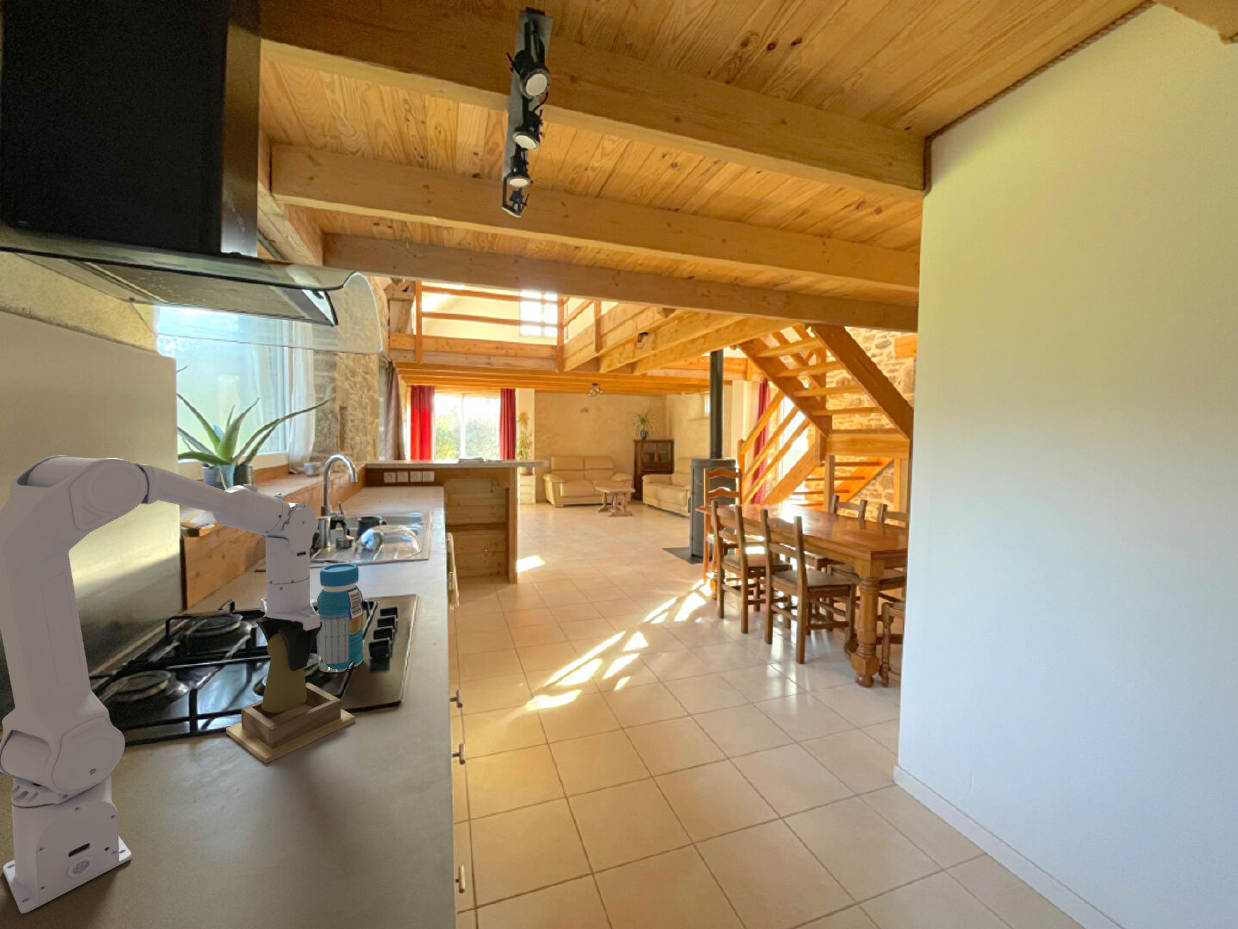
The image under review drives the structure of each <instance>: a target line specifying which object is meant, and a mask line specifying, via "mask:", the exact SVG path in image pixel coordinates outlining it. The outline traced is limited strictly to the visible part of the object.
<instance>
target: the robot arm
mask: <svg viewBox="0 0 1238 929" xmlns="http://www.w3.org/2000/svg"><path fill="white" fill-rule="evenodd" d="M9 490H10V491H9V492H10V493H9V496H8V498H7V499H6V501H5V503H4V505H3V507H2V508H1V510H0V633H1V638H2V643H3V644H2V645H3V648H4V654H5V660H6V665H7V671H8V674H9V675H8V676H9V681H10V685H11V691H12V696H13V702H14V706H15V707H14V709H13V710H12V711H10V712H9V713H8V714H7V715H6V716H4V717H3V719H2V721H1V724H2V732H3V734H2V739H1V741H0V772H1V773H3V774H4V775H6V776H10V777H12V782H13V783H12V789H11V794H10V801H11V817H12V818H11V820H12V821H11V822H12V837H13V840H12V841H13V842H12V843H13V856H14V857H13V858H14V859H13V860H10V861H8V862H7V863H5V864H4V865H2V872H3V874H4V877H5V879H6V881H7V884H8V887H9V888H10V891H11V894H12V896H13V898H14V900H15V903H16V905H17V907H18V910H19V913H20V914H26V913H29V912H31V911H33V910H35V909H36V908H39V907H41V906H43V905H44V904H47V903H48V902H51V901H53V900H55V899H56V898H58V897H60V896H62V895H64V894H66V893H68V892H70V891H72V890H73V889H75V888H78V887H79V886H81V885H83V884H85V883H88V882H89V881H92V880H93V879H95V878H97V877H99V876H101V875H102V874H104V873H107V872H108V871H112V870H113V869H114V868H117V867H119V866H120V865H122V864H125V863H126V862H127V861H130V860H131V858H132V852H131V850H130V849H129V848H128V846H127V845H126V843H125V842H124V840H123V839H122V837H120V835H119V816H118V814H119V813H118V812H119V811H118V809H117V807H116V805H115V804H114V802H113V795H112V793H113V792H112V772H113V770H115V768H116V767H117V766H118V764H119V763H120V761H121V758H122V757H123V754H124V752H125V747H126V746H125V745H126V740H125V736H124V734H123V733H122V731H121V730H119V729H118V728H117V727H115V726H114V725H113V723H112V721H111V718H110V713H109V710H108V708H107V707H106V706H105V705H104V704H103V703H102V701H101V700H100V699H99V697H97V696H96V694H95V693H94V692H93V691H92V688H91V682H90V675H89V669H88V664H87V663H88V662H87V657H86V651H85V645H84V640H83V633H82V628H81V620H80V616H79V608H78V604H77V603H78V602H77V597H76V596H77V595H76V591H75V590H76V589H75V585H74V578H73V573H72V572H73V571H72V567H71V562H70V561H71V560H70V554H69V553H70V550H72V549H73V548H74V547H75V546H76V545H77V544H79V542H81V541H82V540H83V539H84V538H85V537H87V535H89V534H90V533H92V532H94V531H96V530H98V529H100V528H101V527H104V526H105V525H108V524H109V523H111V522H113V521H115V520H117V519H119V518H121V517H124V516H125V515H127V514H128V513H131V511H133V510H135V509H136V508H137V507H138V506H140V504H141V505H152V504H154V503H156V502H158V501H161V502H165V503H168V504H169V503H170V504H173V505H179V506H182V507H185V508H186V507H187V508H191V509H196V510H199V511H205V512H209V513H210V512H211V514H212V516H213V518H214V520H215V522H216V523H217V524H219V525H221V526H225V527H229V528H233V529H237V530H240V531H246V532H248V533H254V534H256V535H257V534H258V536H260V537H261V538H263V539H265V580H266V581H265V582H266V588H265V589H266V597H263V598H261V599H260V600H259V602H260V603H259V604H260V605H259V606H260V607H259V608H260V609H259V610H260V612H263V613H264V615H265V616H261V617H258V618H256V620H255V623H256V625H257V626H258V627H259V628H260V631H261V632H262V633H263V635H264V638H265V640H266V643H267V644H268V641H269V640H270V639H271V637H272V636H274V635H276V634H278V633H279V634H280V635H281V637H282V639H283V641H284V643H285V646H286V650H287V656H288V663H289V667H290V669H291V671H296V670H299V669H301V668H304V669H305V668H307V666H308V664H309V659H310V656H311V652H312V647H313V646H314V642H315V639H317V634H318V633H319V631H320V629H321V628H322V622H321V621H320V614H318V613H317V611H316V610H315V608H314V607H317V606H316V605H318V601H317V599H313V598H311V572H310V571H311V567H310V566H311V565H310V564H311V560H310V559H311V558H310V556H311V555H310V550H311V548H312V546H313V538H314V535H315V533H316V532H317V530H318V528H319V523H320V519H319V518H317V516H316V513H315V512H314V511H313V509H312V508H311V507H310V506H309V505H307V504H305V503H297V502H288V501H286V499H287V498H286V496H283V495H278V494H277V495H274V496H272V495H269V494H266V493H264V492H261V491H258V490H259V486H257V485H254V484H247V483H246V484H245V483H244V484H242V485H233V486H230V487H228V488H225V489H221V488H219V487H215V486H213V485H210V484H206V483H205V482H202V481H198V480H197V479H193V478H190V477H187V476H184V475H181V474H179V473H176V472H173V471H171V470H167V469H165V468H162V467H158V466H154V465H150V464H145V463H137V462H136V463H135V462H131V461H129V460H127V459H123V458H118V457H117V458H116V457H114V458H112V457H110V458H107V457H105V458H95V457H94V458H91V457H89V458H88V457H76V456H72V455H60V454H59V455H52V456H48V457H44V458H41V459H39V460H37V461H36V462H34V463H32V464H31V465H29V466H28V467H27V468H25V469H23V470H22V471H21V472H20V473H18V474H16V475H15V476H14V477H12V478H11V479H10V480H9Z"/></svg>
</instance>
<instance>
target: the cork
mask: <svg viewBox="0 0 1238 929" xmlns="http://www.w3.org/2000/svg"><path fill="white" fill-rule="evenodd" d="M266 651H267V654H268V655H269V657H270V661H269V666H268V670H267V671H268V672H267V676H266V681H265V686H264V692H263V697H262V700H263V701H262V709H263V710H264V711H268V712H283V711H288V710H291V709H294V708H297V707H299V706H301V705H302V704H304V703H305V702H306V700H307V692H306V683H307V682H306V676H305V675H306V674H305V667H304V668H301V669H299V670H296V671H291V669H290V667H289V663H288V656H287V650H286V646H285V643H284V641H283V639H282V637H281V635H280V634H279V633H278V634H276V635H274V636H272V637H271V639H270V640H269V641H268V644H267V646H266Z"/></svg>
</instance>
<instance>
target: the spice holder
mask: <svg viewBox="0 0 1238 929" xmlns="http://www.w3.org/2000/svg"><path fill="white" fill-rule="evenodd" d="M305 683H306V692H307V700H306V702H305V703H304V704H302V705H301V706H299V707H297V708H294V709H291V710H288V711H283V712H268V711H264V710H263V709H262V701H263V699H261V700H259V701H256V702H254V703H251V704H249V705H245V706H243V707H241V708H240V713H241V714H240V716H241V719H240V722H238V723H235V724H233V725H230V726H228V727H226V728H225V734H227V735H228V736H229V737H230V738H232V739H233V740H234V741H236V742H237V743H238V744H240V745H241V746H242V747H243V748H245V749H246V750H247V751H249V752H250V753H251V754H253V756H255V757H256V758H258V759H259V760H260V761H261V762H263V763H264V764H268V763H271V762H272V761H275V760H277V759H279V758H281V757H283V756H285V755H288V754H289V753H292V752H294V751H295V750H298V749H300V748H301V747H304V746H306V745H309V744H310V743H312V742H314V741H317V740H319V739H320V738H323V737H325V736H327V735H329V734H331V733H333V732H336V731H338V730H340V729H342V728H344V727H346V726H348V725H350V724H352V723H355V722H356V716H355V715H353V714H351V713H350V712H348V711H346V710H344V709H343V708H342V707H341V706H342V705H341V704H342V703H341V702H342V701H341V699H340V698H338V697H337V696H334V695H332V694H331V693H329V692H327V691H326V690H323V689H322V688H320V687H318V686H317V685H314V684H312V683H311V682H305Z"/></svg>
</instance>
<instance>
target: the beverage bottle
mask: <svg viewBox="0 0 1238 929" xmlns="http://www.w3.org/2000/svg"><path fill="white" fill-rule="evenodd" d="M359 571H360V570H359V566H358V565H357V564H355V563H349V562H348V563H336V564H335V563H334V564H331V565H326V566H323V567H322V568H320V572H319V580H320V581H319V584H320V586H321V587H322V589H321V591H320V592H319V594H318V596H317V599H316V600H317V601H318V605H316V606H315V607H317V611H316V613H318V614H320V621H321V622H322V628H321V629H320V631H319V633H318V634H317V636H316V652H317V653H316V656H317V655H319V656H321V658H322V660H323V662H324V663H325V664H326V665H327V666H328V667H330V668H332V669H337V670H338V671H339V672H338V673H343V672H346V671H345V670H346V669H347V667H348V666H349V665H350V664H351V663H352V662H355V666H356V667H355V668H357V667H358V666H359V665H361V664H362V662H363V660H364V651H363V646H364V644H363V642H364V639H363V637H364V636H363V629H364V628H363V626H364V625H363V624H364V623H363V622H364V620H363V619H364V618H363V616H364V611H365V610H364V607H363V605H362V602H363V601H364V600H363V598H364V596H363V594H362V592H361V590H360V588H359V587H358V586H357V583H358V582H359V578H360V577H359V576H360V575H359Z"/></svg>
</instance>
